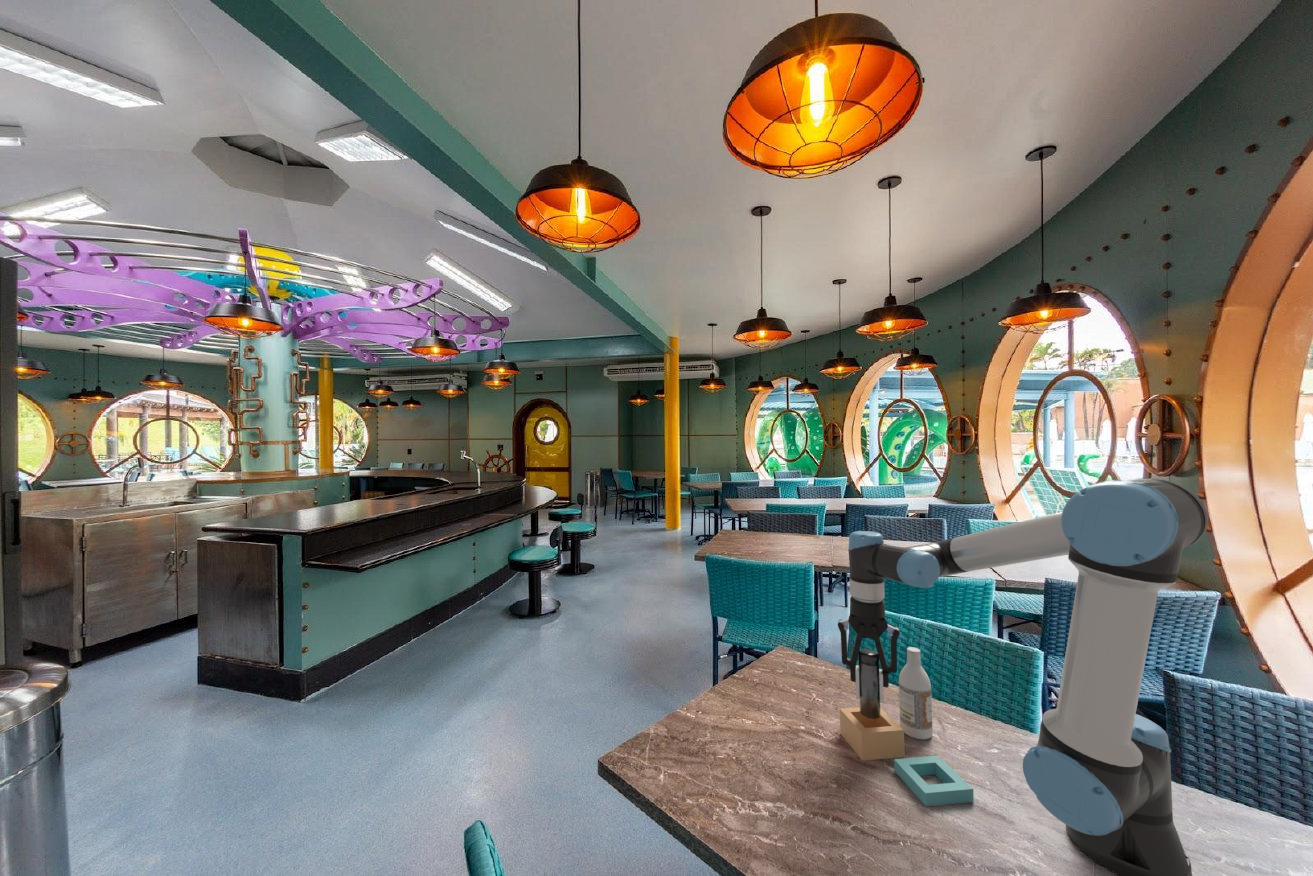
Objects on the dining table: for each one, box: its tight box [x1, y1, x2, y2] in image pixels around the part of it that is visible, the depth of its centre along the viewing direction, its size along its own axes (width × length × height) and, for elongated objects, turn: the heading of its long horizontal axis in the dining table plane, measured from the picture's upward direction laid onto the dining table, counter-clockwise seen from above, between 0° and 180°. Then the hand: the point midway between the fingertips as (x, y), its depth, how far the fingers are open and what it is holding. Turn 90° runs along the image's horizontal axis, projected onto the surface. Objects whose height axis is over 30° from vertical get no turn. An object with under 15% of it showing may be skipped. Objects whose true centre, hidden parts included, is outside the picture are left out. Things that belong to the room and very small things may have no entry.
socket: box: [839, 706, 906, 761], centre depth 109 cm, size 10×10×6 cm
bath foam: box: [898, 646, 934, 740], centre depth 114 cm, size 7×7×20 cm
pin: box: [858, 648, 881, 719], centre depth 109 cm, size 4×4×14 cm
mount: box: [893, 755, 975, 807], centre depth 95 cm, size 10×10×2 cm
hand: (869, 697), depth 109 cm, fingers closed on pin, 4 cm apart
